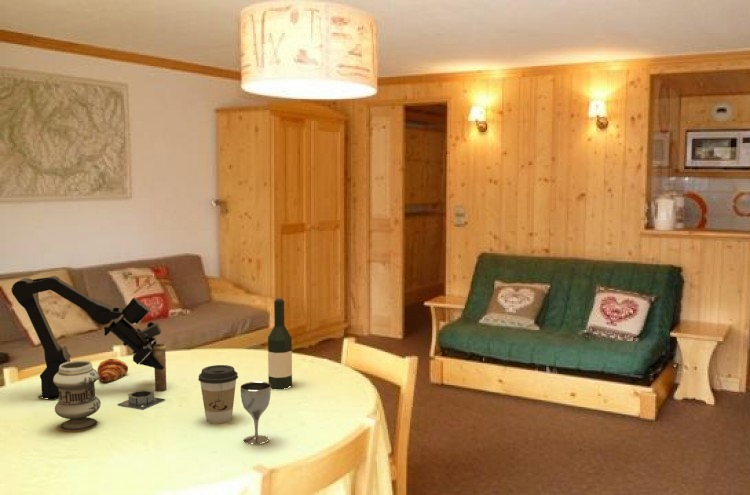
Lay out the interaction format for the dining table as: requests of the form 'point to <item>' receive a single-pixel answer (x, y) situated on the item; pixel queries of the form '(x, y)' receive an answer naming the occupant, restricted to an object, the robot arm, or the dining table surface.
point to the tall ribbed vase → (159, 374)
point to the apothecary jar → (76, 395)
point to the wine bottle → (279, 351)
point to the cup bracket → (141, 400)
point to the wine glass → (255, 405)
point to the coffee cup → (218, 392)
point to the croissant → (111, 369)
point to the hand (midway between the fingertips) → (164, 365)
